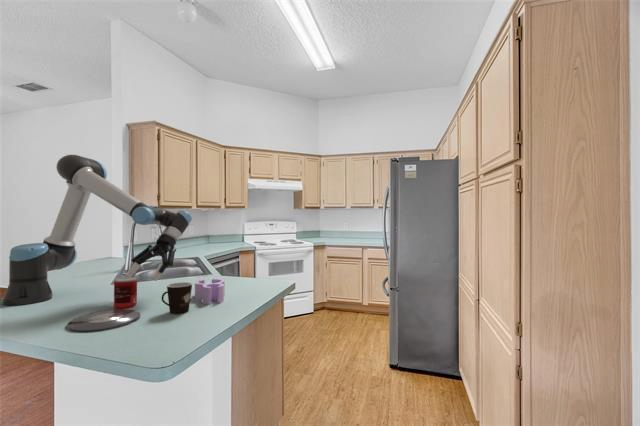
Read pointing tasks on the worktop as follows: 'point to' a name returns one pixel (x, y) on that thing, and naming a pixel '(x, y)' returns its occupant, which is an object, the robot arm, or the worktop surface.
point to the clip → (210, 290)
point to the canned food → (125, 292)
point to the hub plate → (103, 320)
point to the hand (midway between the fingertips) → (140, 277)
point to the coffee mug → (178, 297)
